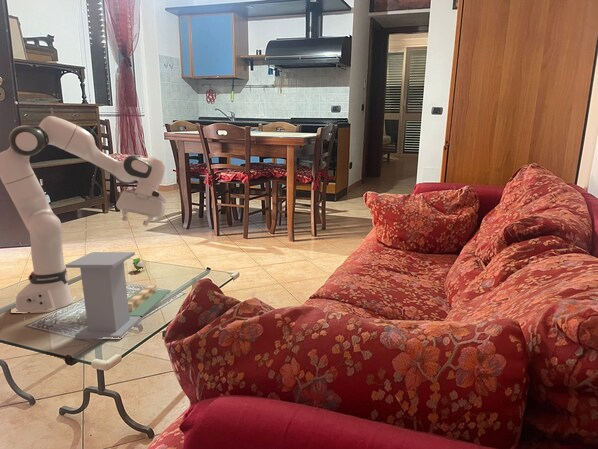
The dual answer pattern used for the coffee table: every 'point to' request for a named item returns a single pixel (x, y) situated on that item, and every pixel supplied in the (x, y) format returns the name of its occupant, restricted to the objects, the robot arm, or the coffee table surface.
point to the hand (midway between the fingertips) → (134, 223)
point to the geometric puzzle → (138, 264)
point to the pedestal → (105, 295)
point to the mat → (148, 302)
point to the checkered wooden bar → (141, 297)
